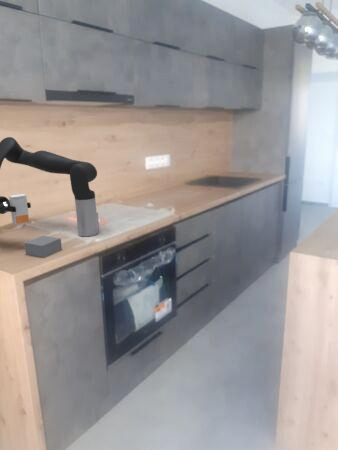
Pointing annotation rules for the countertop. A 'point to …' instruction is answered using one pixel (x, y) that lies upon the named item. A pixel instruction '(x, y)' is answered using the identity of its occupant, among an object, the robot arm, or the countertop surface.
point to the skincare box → (19, 209)
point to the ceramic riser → (43, 246)
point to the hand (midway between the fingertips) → (22, 207)
